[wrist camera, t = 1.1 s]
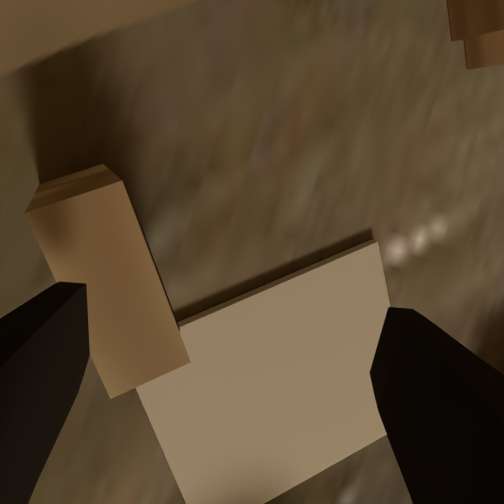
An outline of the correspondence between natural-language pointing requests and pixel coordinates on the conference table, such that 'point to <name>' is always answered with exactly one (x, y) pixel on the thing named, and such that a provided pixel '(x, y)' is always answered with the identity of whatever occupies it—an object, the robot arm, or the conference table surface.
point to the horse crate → (479, 30)
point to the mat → (274, 382)
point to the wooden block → (109, 275)
